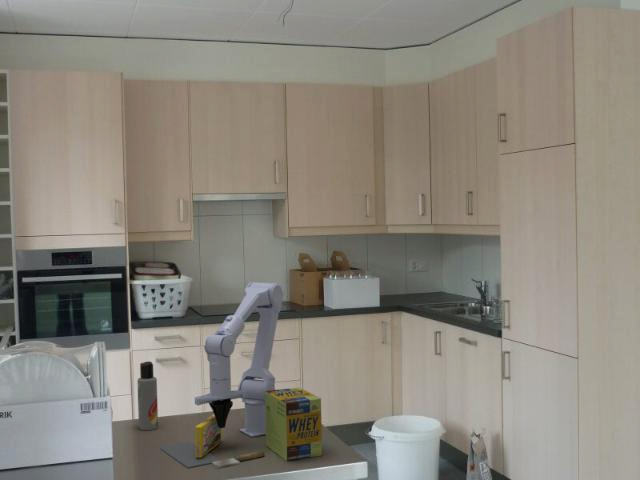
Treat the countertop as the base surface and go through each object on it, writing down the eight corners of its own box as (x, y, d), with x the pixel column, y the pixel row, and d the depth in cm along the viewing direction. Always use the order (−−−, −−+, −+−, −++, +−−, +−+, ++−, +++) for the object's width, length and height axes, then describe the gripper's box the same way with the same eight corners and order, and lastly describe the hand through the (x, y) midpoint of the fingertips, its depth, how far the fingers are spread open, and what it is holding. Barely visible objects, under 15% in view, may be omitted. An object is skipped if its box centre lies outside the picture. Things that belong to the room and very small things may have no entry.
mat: (189, 442, 224) (189, 441, 224) (220, 461, 207) (220, 460, 207) (159, 448, 219) (159, 447, 219) (187, 468, 202) (187, 467, 202)
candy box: (202, 458, 208) (201, 426, 208) (195, 458, 208) (193, 426, 208) (222, 441, 224) (221, 412, 224) (215, 441, 224) (213, 412, 224)
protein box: (286, 461, 206) (285, 403, 205) (265, 445, 220) (264, 390, 219) (323, 455, 210) (322, 398, 210) (299, 440, 224) (298, 386, 224)
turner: (259, 454, 213) (259, 448, 212) (267, 458, 209) (266, 452, 209) (212, 464, 205) (211, 458, 205) (218, 468, 202) (218, 463, 202)
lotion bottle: (162, 426, 240) (160, 361, 239) (148, 431, 235) (146, 365, 234) (148, 424, 243) (146, 359, 242) (134, 429, 238) (132, 363, 237)
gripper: (237, 372, 224) (238, 419, 225) (189, 379, 217) (191, 428, 217) (248, 376, 218) (250, 425, 219) (200, 383, 211) (201, 434, 211)
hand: (221, 427), depth 218 cm, fingers closed
